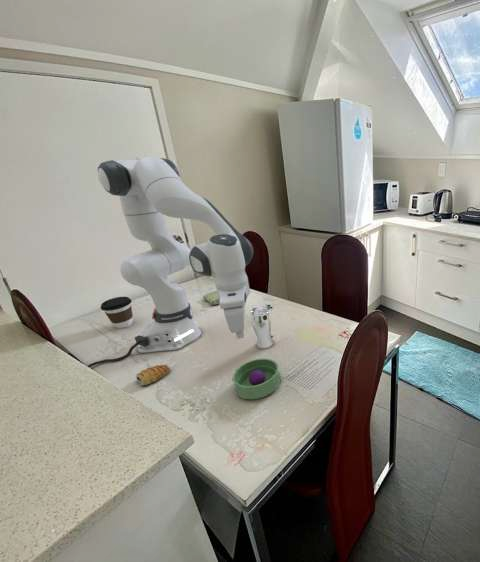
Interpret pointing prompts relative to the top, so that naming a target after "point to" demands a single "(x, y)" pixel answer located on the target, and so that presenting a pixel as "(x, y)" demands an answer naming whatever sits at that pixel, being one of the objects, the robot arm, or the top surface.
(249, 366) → the bowl
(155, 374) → the pastry
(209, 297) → the washcloth
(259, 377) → the ball
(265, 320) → the beer glass
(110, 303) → the coffee cup
